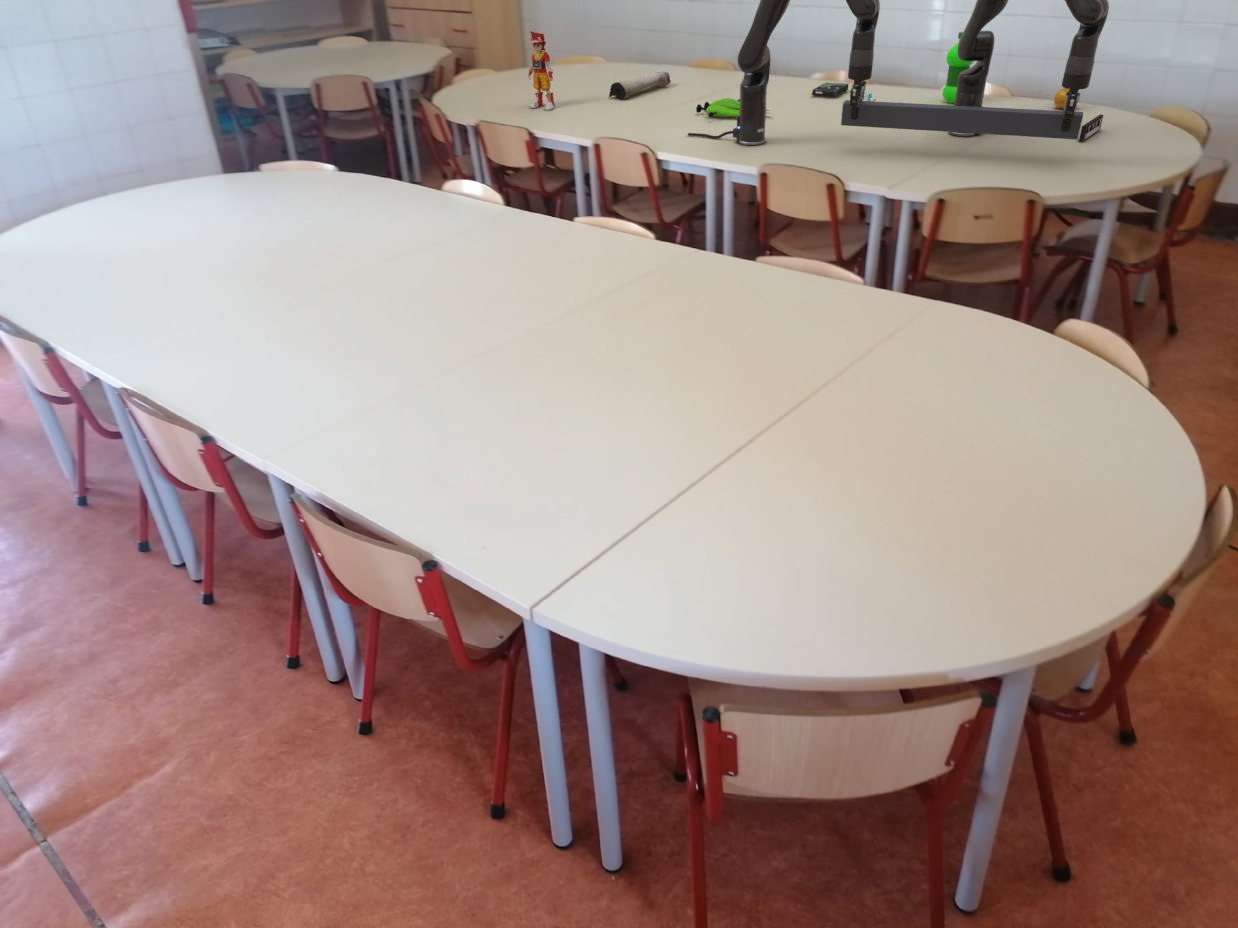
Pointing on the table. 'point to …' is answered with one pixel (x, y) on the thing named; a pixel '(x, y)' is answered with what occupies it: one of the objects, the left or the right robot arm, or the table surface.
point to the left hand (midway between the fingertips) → (855, 117)
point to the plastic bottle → (954, 72)
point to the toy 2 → (722, 108)
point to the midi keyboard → (1091, 127)
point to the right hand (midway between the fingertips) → (1065, 128)
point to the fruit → (1060, 98)
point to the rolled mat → (638, 84)
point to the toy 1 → (541, 71)
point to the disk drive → (830, 90)
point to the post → (962, 119)
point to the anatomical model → (868, 96)
